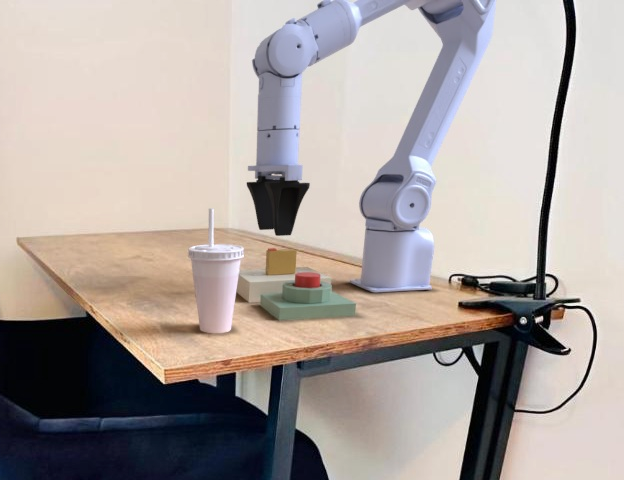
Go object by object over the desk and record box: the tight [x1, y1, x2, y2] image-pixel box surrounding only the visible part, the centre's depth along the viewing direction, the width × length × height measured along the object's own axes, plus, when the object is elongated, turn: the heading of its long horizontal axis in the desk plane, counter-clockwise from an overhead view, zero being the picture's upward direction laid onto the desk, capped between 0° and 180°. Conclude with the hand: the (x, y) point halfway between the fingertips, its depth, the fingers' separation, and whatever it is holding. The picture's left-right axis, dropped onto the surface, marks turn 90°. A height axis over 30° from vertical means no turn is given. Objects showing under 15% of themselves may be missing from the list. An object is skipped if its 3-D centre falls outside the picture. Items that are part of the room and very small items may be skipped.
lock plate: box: [236, 266, 332, 303], centre depth 82 cm, size 12×9×3 cm
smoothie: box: [187, 208, 245, 334], centre depth 64 cm, size 6×6×14 cm
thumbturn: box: [265, 247, 298, 275], centre depth 81 cm, size 4×1×4 cm, turn 98°
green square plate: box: [259, 281, 357, 321], centre depth 72 cm, size 10×8×4 cm
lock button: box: [295, 272, 321, 288], centre depth 72 cm, size 3×3×2 cm
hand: (274, 232), depth 80 cm, fingers open, 7 cm apart
